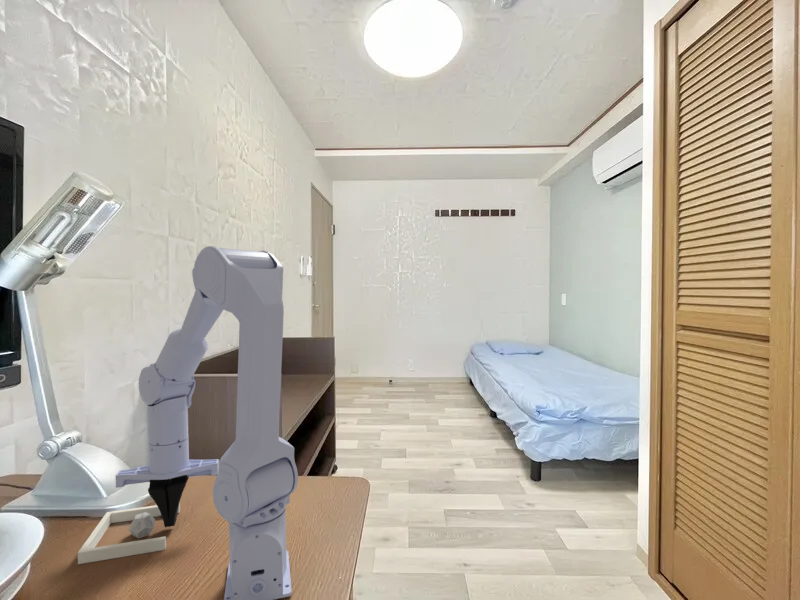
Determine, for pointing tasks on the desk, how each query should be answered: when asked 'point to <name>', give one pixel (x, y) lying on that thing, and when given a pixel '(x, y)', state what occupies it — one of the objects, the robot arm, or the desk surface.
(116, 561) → the desk surface
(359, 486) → the desk surface
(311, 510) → the desk surface
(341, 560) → the desk surface
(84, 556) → the bay
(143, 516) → the game die
